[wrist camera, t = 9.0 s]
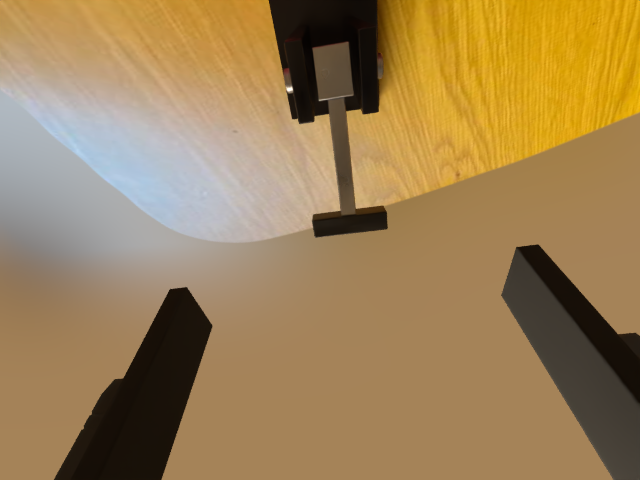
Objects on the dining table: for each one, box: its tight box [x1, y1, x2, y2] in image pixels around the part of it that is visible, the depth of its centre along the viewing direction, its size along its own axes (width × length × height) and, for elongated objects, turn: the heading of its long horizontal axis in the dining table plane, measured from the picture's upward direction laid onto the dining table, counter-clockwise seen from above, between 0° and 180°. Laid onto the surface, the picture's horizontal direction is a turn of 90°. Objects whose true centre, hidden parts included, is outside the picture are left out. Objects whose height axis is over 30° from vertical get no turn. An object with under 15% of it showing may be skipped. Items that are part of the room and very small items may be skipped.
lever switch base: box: [269, 0, 383, 124], centre depth 23 cm, size 11×9×14 cm
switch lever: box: [312, 41, 388, 238], centre depth 21 cm, size 12×6×2 cm, turn 9°
